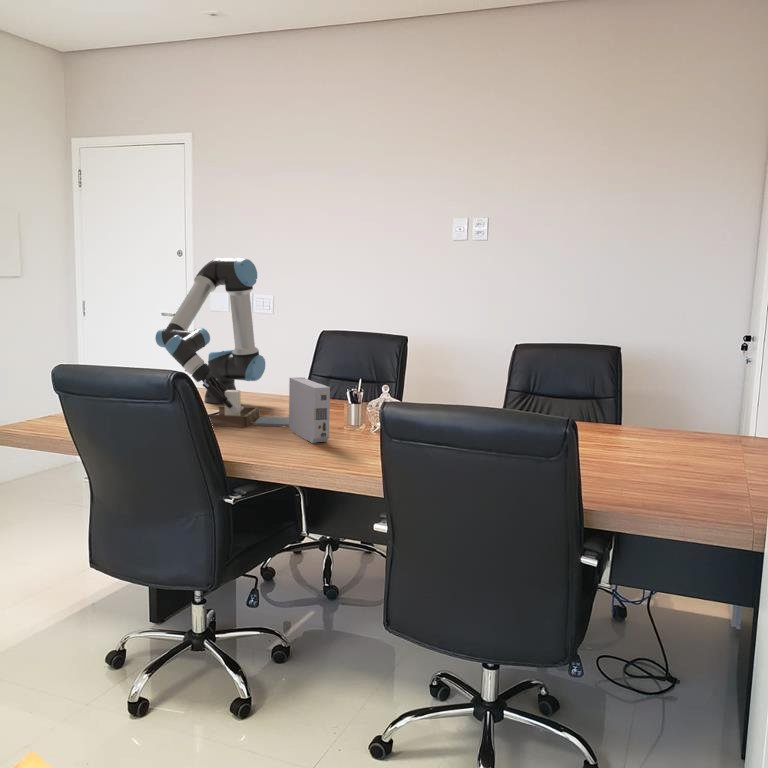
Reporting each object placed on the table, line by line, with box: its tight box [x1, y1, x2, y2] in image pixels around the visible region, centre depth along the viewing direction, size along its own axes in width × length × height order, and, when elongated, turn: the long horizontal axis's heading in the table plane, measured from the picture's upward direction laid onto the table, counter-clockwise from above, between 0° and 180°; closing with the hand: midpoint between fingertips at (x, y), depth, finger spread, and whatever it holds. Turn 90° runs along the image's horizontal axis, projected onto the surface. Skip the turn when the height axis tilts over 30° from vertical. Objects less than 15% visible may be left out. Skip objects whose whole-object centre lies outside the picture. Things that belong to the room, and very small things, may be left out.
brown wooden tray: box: [208, 405, 260, 428], centre depth 304 cm, size 21×16×4 cm
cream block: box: [224, 389, 241, 416], centre depth 304 cm, size 5×5×12 cm
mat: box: [252, 415, 289, 428], centre depth 303 cm, size 15×14×1 cm
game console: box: [288, 376, 331, 444], centre depth 277 cm, size 6×27×20 cm, turn 25°
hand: (239, 411), depth 304 cm, fingers closed on cream block, 5 cm apart
